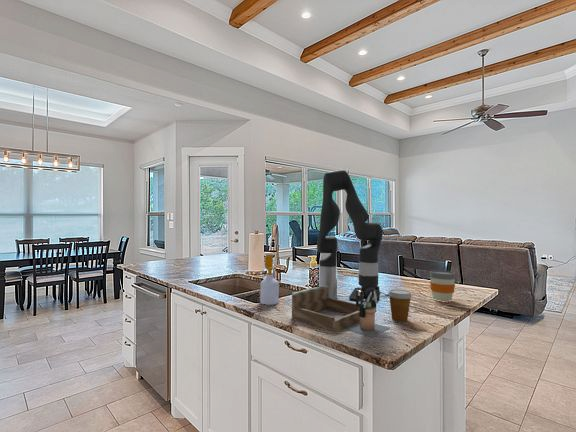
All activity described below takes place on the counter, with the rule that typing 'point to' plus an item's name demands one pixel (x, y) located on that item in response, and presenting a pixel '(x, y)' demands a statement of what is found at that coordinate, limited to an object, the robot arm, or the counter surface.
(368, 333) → the slate mat
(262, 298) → the soap bottle
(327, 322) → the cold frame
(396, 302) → the disposable coffee cup
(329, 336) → the counter surface
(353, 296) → the sushi plate
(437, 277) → the reusable coffee cup
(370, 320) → the terracotta pot
